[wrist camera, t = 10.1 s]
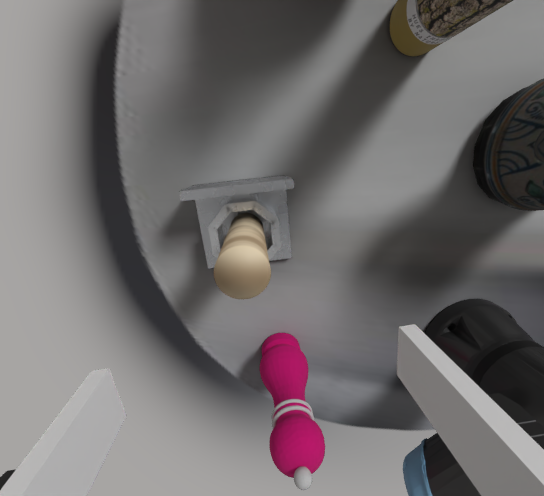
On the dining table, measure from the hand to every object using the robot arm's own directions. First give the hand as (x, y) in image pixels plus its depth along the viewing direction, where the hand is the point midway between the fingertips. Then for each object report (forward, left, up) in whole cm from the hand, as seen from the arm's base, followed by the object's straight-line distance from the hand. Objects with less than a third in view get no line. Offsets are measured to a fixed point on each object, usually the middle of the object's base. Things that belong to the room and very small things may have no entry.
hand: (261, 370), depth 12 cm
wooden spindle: (0, +1, -26) cm, 26 cm away
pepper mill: (-21, -2, -27) cm, 34 cm away
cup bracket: (0, +1, -27) cm, 27 cm away
